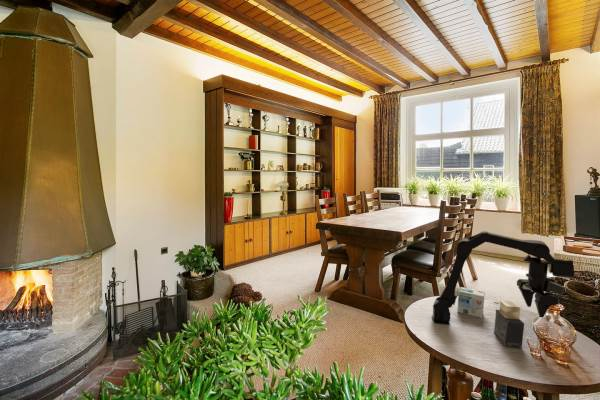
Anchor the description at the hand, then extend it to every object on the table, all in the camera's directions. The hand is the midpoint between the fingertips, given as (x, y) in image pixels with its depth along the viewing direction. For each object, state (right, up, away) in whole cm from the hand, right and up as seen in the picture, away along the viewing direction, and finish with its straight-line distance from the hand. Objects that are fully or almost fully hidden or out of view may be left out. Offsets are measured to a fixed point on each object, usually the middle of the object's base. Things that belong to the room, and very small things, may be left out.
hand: (534, 311), depth 119 cm
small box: (-8, -13, +3) cm, 16 cm away
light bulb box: (-10, -11, +27) cm, 31 cm away
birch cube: (-9, -3, +2) cm, 9 cm away
